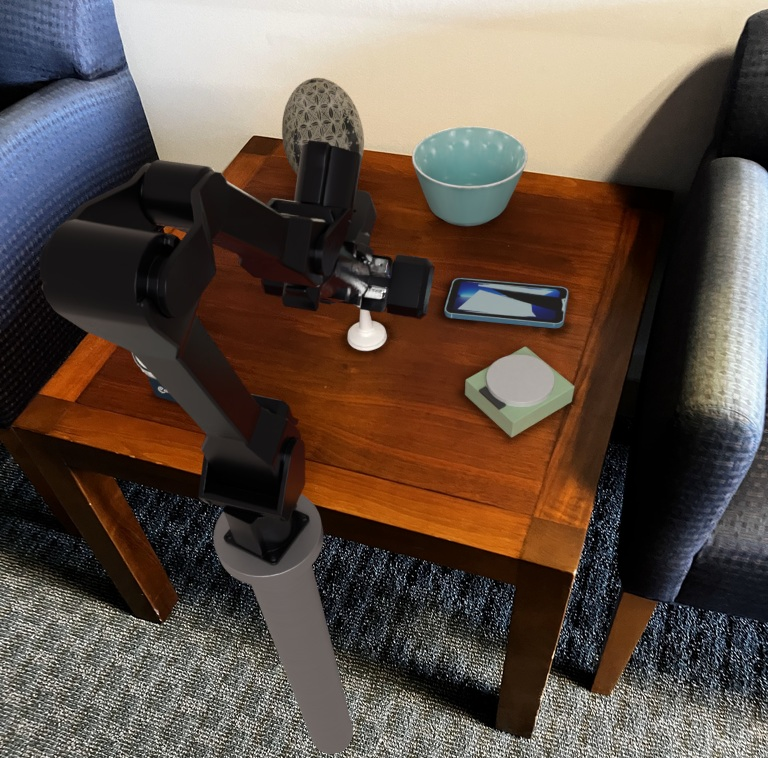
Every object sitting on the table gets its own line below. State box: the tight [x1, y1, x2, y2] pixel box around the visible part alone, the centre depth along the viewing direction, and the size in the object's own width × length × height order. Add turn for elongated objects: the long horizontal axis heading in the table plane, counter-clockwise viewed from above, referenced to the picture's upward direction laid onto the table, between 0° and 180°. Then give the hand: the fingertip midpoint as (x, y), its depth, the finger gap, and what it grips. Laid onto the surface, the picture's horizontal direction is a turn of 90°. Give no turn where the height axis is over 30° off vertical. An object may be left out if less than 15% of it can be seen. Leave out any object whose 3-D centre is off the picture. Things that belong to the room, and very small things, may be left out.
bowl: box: [411, 125, 529, 227], centre depth 108 cm, size 16×16×8 cm
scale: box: [464, 346, 575, 438], centre depth 88 cm, size 9×8×3 cm
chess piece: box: [347, 297, 388, 352], centre depth 92 cm, size 5×5×10 cm
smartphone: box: [443, 277, 570, 329], centre depth 98 cm, size 7×1×15 cm
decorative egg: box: [281, 77, 365, 176], centre depth 111 cm, size 12×12×15 cm
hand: (366, 287), depth 92 cm, fingers closed on chess piece
